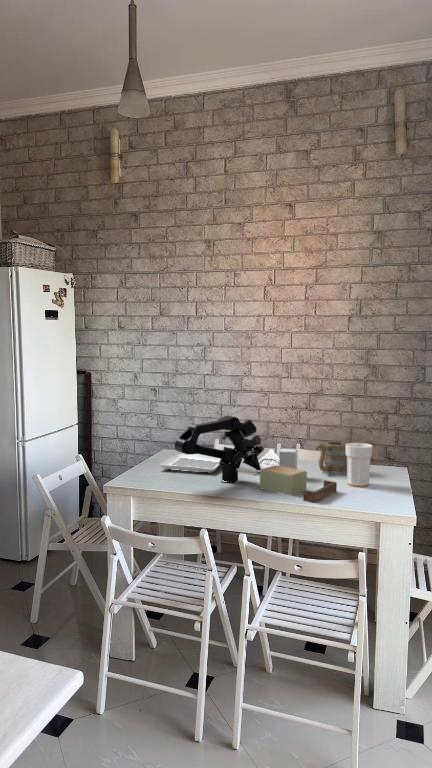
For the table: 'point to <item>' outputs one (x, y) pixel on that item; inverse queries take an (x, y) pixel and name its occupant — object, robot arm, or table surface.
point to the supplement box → (288, 458)
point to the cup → (358, 464)
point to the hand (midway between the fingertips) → (260, 469)
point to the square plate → (169, 462)
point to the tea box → (283, 479)
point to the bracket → (320, 492)
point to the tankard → (333, 458)
